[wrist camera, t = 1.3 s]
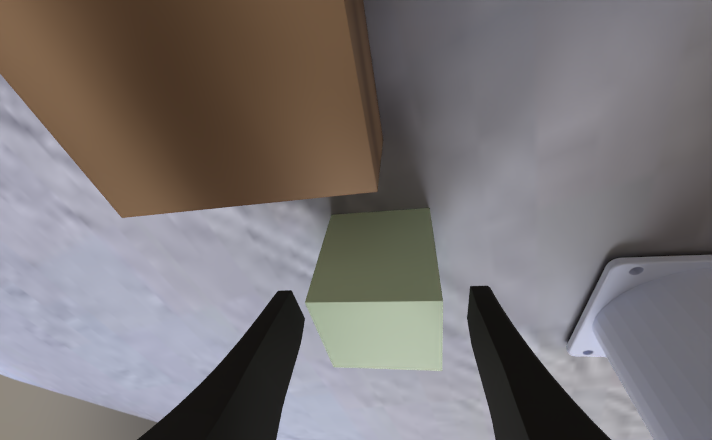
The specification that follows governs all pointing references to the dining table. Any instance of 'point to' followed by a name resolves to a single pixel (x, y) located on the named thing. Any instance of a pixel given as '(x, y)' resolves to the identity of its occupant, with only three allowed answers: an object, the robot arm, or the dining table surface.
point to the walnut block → (201, 97)
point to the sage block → (379, 291)
